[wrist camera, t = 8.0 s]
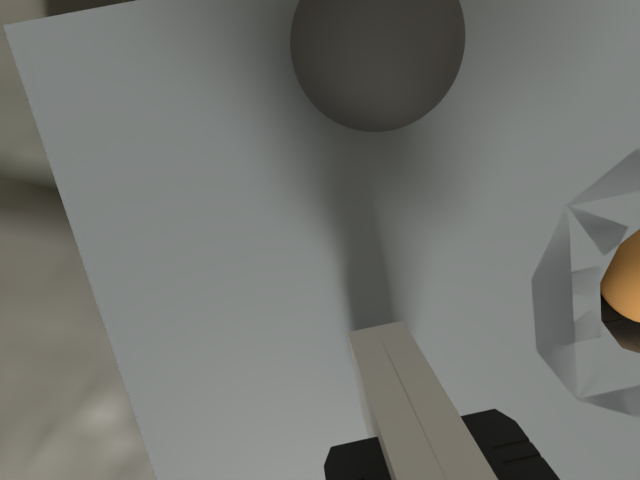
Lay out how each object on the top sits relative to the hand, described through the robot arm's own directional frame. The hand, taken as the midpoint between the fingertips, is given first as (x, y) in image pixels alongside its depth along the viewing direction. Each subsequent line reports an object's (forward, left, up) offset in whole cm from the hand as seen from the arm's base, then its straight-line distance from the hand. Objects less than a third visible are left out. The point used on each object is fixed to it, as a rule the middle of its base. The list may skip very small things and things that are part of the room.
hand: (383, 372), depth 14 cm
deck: (+4, 0, -4) cm, 5 cm away
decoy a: (+1, +8, +1) cm, 8 cm away
